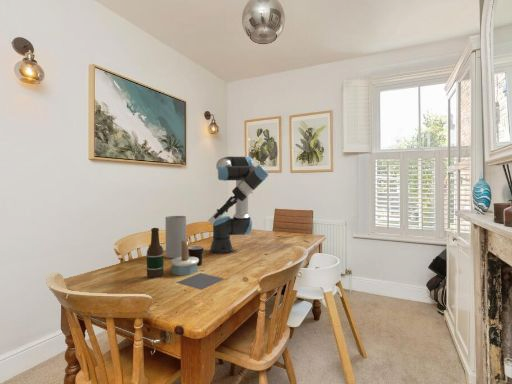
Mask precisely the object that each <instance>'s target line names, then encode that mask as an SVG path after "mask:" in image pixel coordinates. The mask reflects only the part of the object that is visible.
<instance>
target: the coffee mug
mask: <svg viewBox="0 0 512 384" xmlns="http://www.w3.org/2000/svg"><path fill="white" fill-rule="evenodd" d="M203 255H204V246H202V245H192V246H188V256H191V257H197V258H198V259H199V262H198V263H197V267H201V266H202V265H203V258H204V257H203Z"/></svg>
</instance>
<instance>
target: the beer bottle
mask: <svg viewBox="0 0 512 384" xmlns="http://www.w3.org/2000/svg"><path fill="white" fill-rule="evenodd" d="M150 231H151V236H150V237H151V238H150V245H149V246H148V248H147V250H146V277H147V278H148V279H151V280H152V279H158V278H162V277H163V276H164V273H165V272H164V270H165V269H164V264H165V263H164V248H163V246H162V245H161V243H160V234H159V231H160V229H159V228H158V227H153V228H151V229H150Z"/></svg>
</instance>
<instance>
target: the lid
mask: <svg viewBox="0 0 512 384" xmlns="http://www.w3.org/2000/svg"><path fill="white" fill-rule="evenodd" d="M181 246H182V257H178V258H171V260H170V264H171V266H172V265H174V266H190V265H194V264H197V263H198V262H199V259H198V258H197V257H191V256H189V252H188V247H189V240H186V241H181Z"/></svg>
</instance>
